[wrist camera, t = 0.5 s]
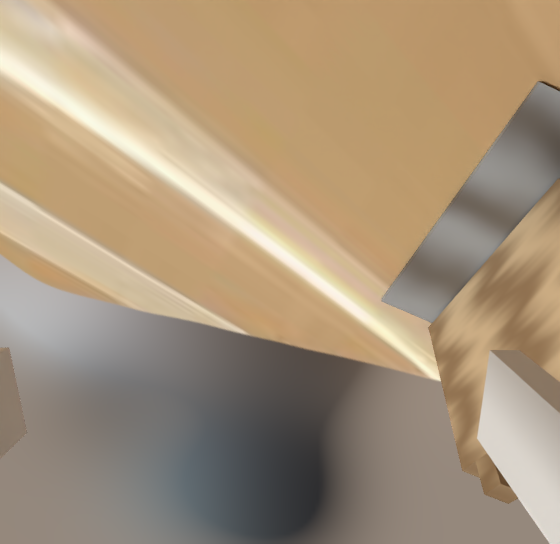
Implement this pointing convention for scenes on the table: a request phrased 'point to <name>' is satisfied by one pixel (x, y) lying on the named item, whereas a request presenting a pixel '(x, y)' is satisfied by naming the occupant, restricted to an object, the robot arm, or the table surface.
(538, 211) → the fence panel
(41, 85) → the table surface
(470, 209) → the fence base
